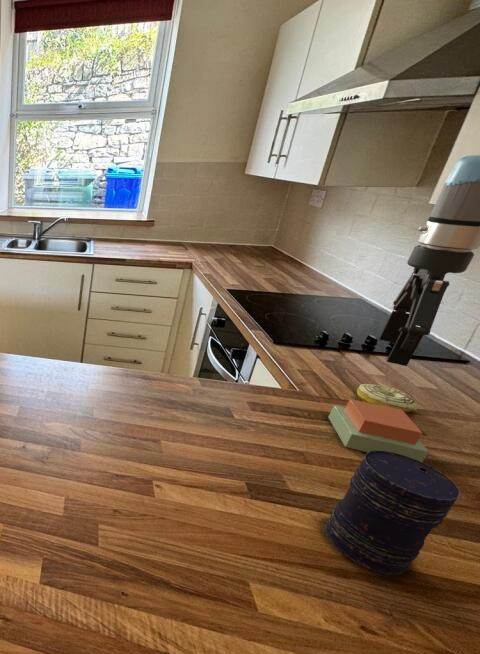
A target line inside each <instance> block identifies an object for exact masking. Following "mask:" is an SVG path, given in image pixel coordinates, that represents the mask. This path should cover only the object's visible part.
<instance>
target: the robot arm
mask: <svg viewBox="0 0 480 654" xmlns="http://www.w3.org/2000/svg"><path fill="white" fill-rule="evenodd" d="M418 232H421V234H420V235H419V237H418V239H417V242H418V243H419V244H418V245H416V246H414V247H413V249H412V251H411V253H410V256H409V257H408V259H407V262H406V264H407V265H408V266H409V267H412V268H413V271H412V273H411V274H410V276H409V278H408V280H407V281H406V283H404V286H403V287H402V289H401V291H400V292H399V294H398V295H397V296H396V298H395V299H394V300H393V302H392V305H393V307H392V310H391V313H390V315H389V317H388V319H387V321H386V323H385V325H384V327H383V329H382V331H381V334H379V335H380V336H379V338H378V339H379V341H384V342H388V343H389V342H390V343H394V345H393V347H392V348H391V351H390V352H389V355H388V357H387V359H386V362H387V363H391V364H394V365H400V366H404V367H407V366H408V364H409V363H410V361H411V359H412V357H413V355H414V353H415V351H416V350H417V348H418V346H419V344H420V342H421V340H422V339H423V337H424V336H428V335H430V333H431V330H432V327H433V324H434V322H435V319H436V316H437V313H438V311H439V308H440V306H441V303H442V300H443V298H444V295H445V293H446V291H447V289H448V287H449V286H450V281H448V280H445V277H446V275H447V274H462V273H464V272H466V271H467V269H468V267H469V266H470V263H472V260H473V258H474V257H475V254H474V252H473V250H478V249H479V248H480V154H472V155H471V154H470V155H466V156H463V157H461V158H460V159H458V161H456V163H455V165H454V166H453V168H452V169H451V171H450V173H449V174H448V176H447V178H446V180H445V181H444V182H443V186H442V188H441V190H440V192H439V195H438V197H437V200H436V201H435V204H434V206H433V208H432V211H431V213H430V215H429V217H428V219H427V222H426V223H425V225H424V226H423V225H422V226H419V228H418Z"/></svg>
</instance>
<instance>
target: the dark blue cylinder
mask: <svg viewBox="0 0 480 654" xmlns="http://www.w3.org/2000/svg"><path fill="white" fill-rule="evenodd" d="M460 496H461V491H460V488H459V487H458V486H457V484H456V483H455V482H454V481H453V480H452V479H451V478H449V477H448V476H447V475H446V474H444V473H443V472H441V471H439V470H437V469H436V468H434V467H433V466H430V465H429V464H427V463H425V462H420V461H418V460H415V459H413V458H410V457H407V456H404V455H401V454H397V453H393V452H388V451H370V452H365V455H364V457H363V458H362V460H361V461H360V464H359V465H358V466H357V467H356V468H355V471H354V472H353V475H352V476H351V478H350V480H349V487H348V489H347V491H346V492H345V494H344V496H343V497H342V498H341V499H340V500H339V501H338V502H337V504H336V506H334V508H333V510H332V511H331V513H330V517H329V520H328V521H327V522H326V524H325V528H324V531H325V534H326V536H327V538H328V540H329V541H330V542H331V543H332V545H333V546H334V547H335V548H336V549H337V550H338V551H340V552H341V553H342V554H343V555H345V556H346V557H347V558H349V559H350V560H352V561H354V563H357V564H359V565H361V566H363V567H365V568H367V569H368V570H372V571H373V572H377V573H381V574H385V575H391V576H394V575H396V576H397V575H401V574H403V573H404V572H405V571H407V569H408V567H409V565H411V563H412V562H414V561H415V560H416V558H417V557H418V556H419V554H420V551H421V550H422V548H423V547H424V546H425V540H426V538H427V537H428V535H430V533H431V531H432V530H433V529H435V528H436V527H438V526H439V525H440V524H442V523H443V521H444V519H445V518H446V517H447V516H448V514H449V513H450V511H451V510H452V507H453V506H454V504H455V502H456V501H457V500H458V498H460Z"/></svg>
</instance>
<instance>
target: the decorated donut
mask: <svg viewBox="0 0 480 654" xmlns="http://www.w3.org/2000/svg"><path fill="white" fill-rule="evenodd" d="M356 393H357V394H356V395H357V398H358V399H359V401H362V402H367V403H371V404H376V405H381V406H386V407H391V408H395V409H400V410H403V411H404V413H405V414H407V413H411V412H416V411H418V408H419V407H418V403H417V401H416V400H415V399H414V398H413V397H412V396H410V395H409V394H407V393H406V392H404V391H402V390H400V389H397V388H394V387H390V386H386V385H384V384H383V385H382V384H374V383H361V384H360V385H359V387H358V388H357V390H356Z"/></svg>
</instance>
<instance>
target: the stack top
mask: <svg viewBox="0 0 480 654" xmlns="http://www.w3.org/2000/svg"><path fill="white" fill-rule="evenodd" d="M345 407H346V408H345V412H346V413H347V415H348V416H349V418H350V419H351V421H352V422H353V424H354V425H355V427H356V428H357V430H358V431H359V432H362V433H366V434H370V435H375V436H379V437H383V438H388V439H392V440H396V441H401V442H405V443H409V444H414V445H416V443H417V441H418V440H419V441H420V438H421V436H422V435H423V432H422V430H421V429H420V427H418V426H417V425H416V424H415V423H414V421H413V420H411V418H410V417H409V415H408V414H407V413H404V411H403V410H400V409H395V408H391V407H386V406H381V405H376V404H371V403H367V402H363V401H362V400H356V399H351V398H349V399H348V402H347V403H346V406H345Z"/></svg>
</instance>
